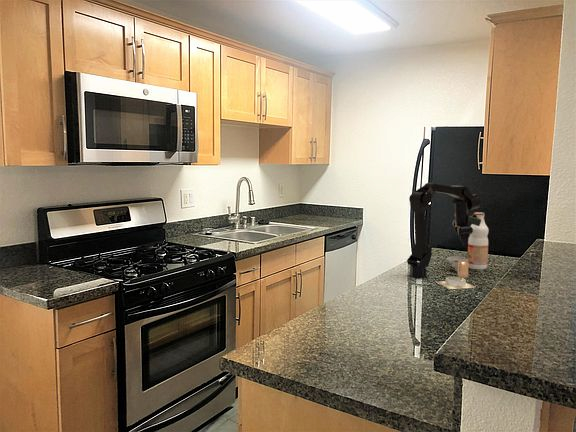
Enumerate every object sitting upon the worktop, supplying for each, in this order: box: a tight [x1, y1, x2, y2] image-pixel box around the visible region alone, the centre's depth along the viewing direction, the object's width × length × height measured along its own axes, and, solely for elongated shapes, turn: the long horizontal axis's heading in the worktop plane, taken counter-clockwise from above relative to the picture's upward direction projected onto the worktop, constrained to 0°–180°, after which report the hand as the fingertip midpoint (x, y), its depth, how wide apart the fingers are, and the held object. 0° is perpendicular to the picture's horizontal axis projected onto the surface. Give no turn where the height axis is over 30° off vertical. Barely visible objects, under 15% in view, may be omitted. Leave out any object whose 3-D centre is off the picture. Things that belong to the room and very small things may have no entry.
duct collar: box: [445, 276, 467, 287], centre depth 198 cm, size 8×8×2 cm
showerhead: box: [447, 254, 468, 272], centre depth 227 cm, size 9×7×10 cm
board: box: [436, 280, 477, 290], centre depth 198 cm, size 12×12×1 cm
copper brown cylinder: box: [457, 261, 469, 279], centre depth 211 cm, size 4×4×8 cm
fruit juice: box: [467, 211, 490, 270], centre depth 232 cm, size 9×9×28 cm
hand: (463, 243), depth 223 cm, fingers open, 9 cm apart
